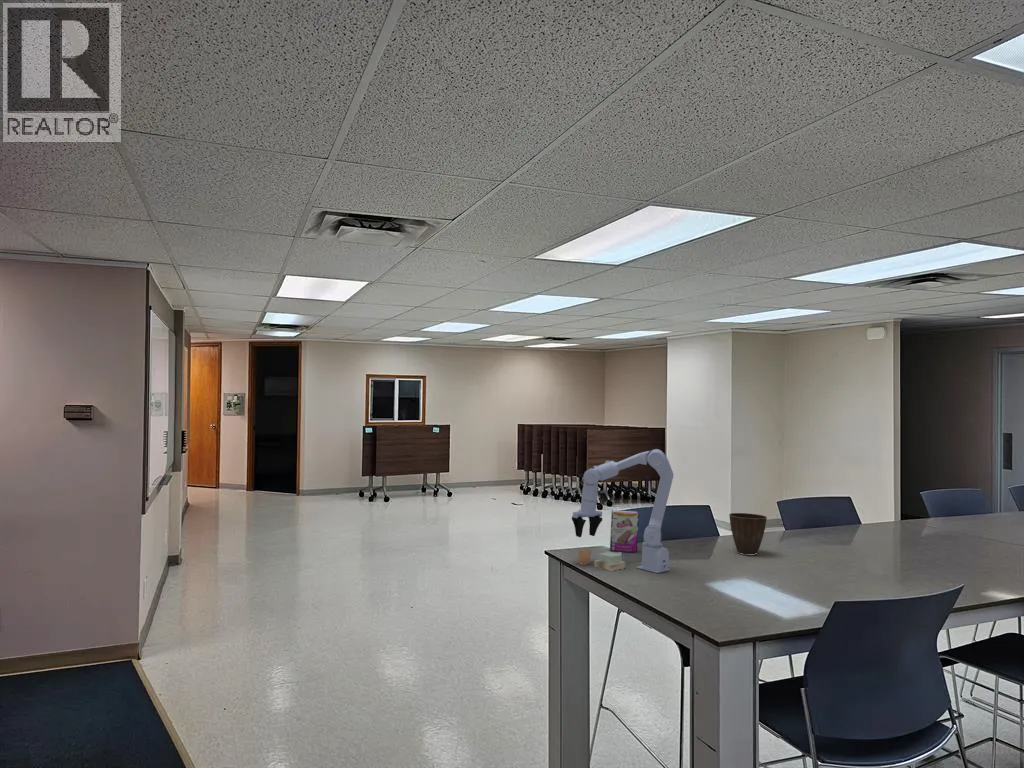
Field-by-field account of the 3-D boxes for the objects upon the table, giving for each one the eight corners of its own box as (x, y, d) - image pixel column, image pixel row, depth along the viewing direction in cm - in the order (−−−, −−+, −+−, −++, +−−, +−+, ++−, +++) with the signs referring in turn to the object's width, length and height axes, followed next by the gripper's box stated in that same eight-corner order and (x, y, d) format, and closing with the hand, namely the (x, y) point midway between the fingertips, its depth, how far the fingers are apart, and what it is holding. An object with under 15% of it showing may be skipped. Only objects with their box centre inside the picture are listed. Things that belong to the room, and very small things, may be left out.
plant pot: (721, 552, 286) (722, 514, 286) (739, 548, 296) (740, 511, 296) (754, 559, 275) (755, 519, 275) (772, 554, 285) (773, 516, 285)
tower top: (621, 561, 250) (621, 554, 250) (611, 563, 246) (611, 556, 246) (609, 558, 255) (609, 551, 255) (598, 560, 251) (598, 553, 251)
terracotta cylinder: (592, 564, 256) (593, 550, 256) (584, 565, 253) (584, 552, 253) (583, 561, 259) (584, 548, 260) (575, 563, 256) (575, 549, 256)
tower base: (625, 569, 250) (625, 561, 251) (611, 573, 245) (611, 564, 245) (608, 565, 256) (608, 557, 256) (594, 568, 251) (594, 560, 251)
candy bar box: (610, 551, 279) (611, 511, 280) (609, 549, 284) (611, 509, 285) (637, 553, 278) (639, 513, 279) (636, 550, 283) (637, 511, 284)
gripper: (593, 498, 265) (590, 532, 265) (568, 498, 256) (564, 534, 255) (607, 501, 260) (603, 536, 260) (582, 502, 250) (578, 539, 250)
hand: (585, 536), depth 257 cm, fingers open, 7 cm apart
